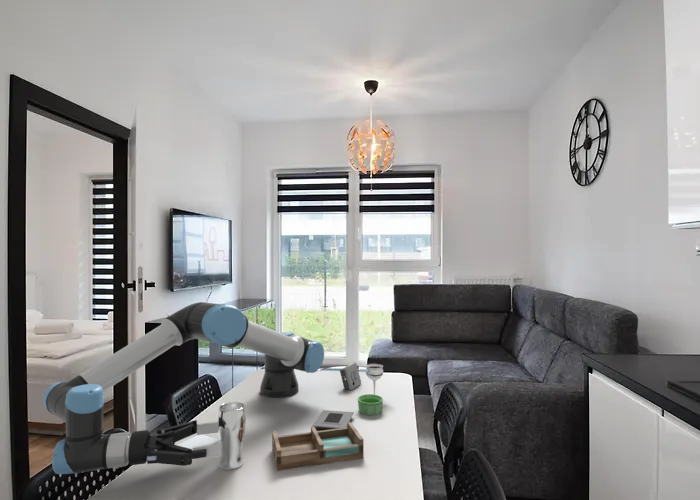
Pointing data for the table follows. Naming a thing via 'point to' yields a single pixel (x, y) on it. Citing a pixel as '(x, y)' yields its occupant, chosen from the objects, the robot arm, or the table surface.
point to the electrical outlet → (333, 419)
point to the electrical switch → (350, 376)
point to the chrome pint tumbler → (231, 434)
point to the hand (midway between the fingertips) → (222, 437)
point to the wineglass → (374, 372)
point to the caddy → (317, 447)
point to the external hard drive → (198, 441)
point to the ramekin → (370, 404)
